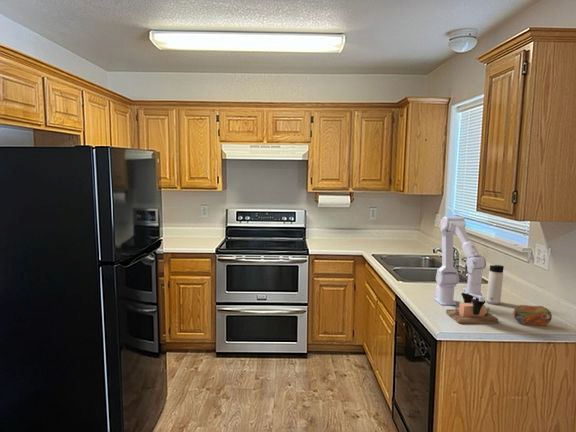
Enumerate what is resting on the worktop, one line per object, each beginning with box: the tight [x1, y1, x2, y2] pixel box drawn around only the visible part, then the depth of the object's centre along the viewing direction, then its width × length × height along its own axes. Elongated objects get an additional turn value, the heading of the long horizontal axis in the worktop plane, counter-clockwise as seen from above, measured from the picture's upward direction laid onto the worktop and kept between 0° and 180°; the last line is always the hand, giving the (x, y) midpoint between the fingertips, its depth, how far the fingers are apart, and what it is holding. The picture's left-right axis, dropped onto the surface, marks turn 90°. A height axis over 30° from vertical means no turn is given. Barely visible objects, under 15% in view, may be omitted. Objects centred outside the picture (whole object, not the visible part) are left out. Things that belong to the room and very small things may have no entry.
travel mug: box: [486, 264, 505, 306], centre depth 207 cm, size 6×7×20 cm
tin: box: [513, 304, 553, 327], centre depth 181 cm, size 15×3×8 cm, turn 81°
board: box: [445, 306, 499, 325], centre depth 186 cm, size 12×18×5 cm, turn 95°
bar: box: [458, 302, 486, 317], centre depth 186 cm, size 10×4×6 cm, turn 95°
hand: (471, 311), depth 186 cm, fingers open, 7 cm apart
